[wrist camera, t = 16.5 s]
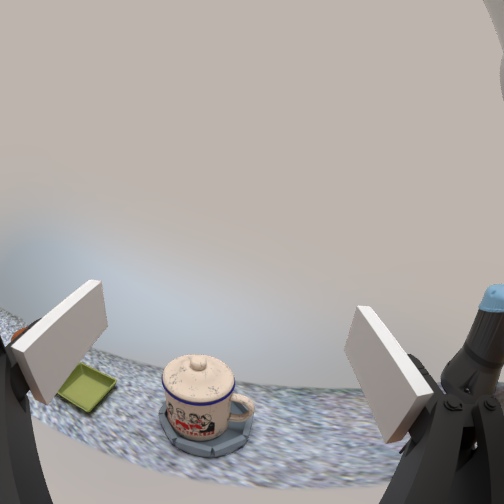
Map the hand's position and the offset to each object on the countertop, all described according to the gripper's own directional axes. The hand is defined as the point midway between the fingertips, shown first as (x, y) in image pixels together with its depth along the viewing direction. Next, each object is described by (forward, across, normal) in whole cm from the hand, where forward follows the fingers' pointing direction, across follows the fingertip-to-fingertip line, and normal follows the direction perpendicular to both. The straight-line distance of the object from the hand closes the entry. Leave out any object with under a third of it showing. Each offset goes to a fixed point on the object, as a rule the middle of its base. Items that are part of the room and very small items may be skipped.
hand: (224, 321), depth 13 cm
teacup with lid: (+13, -2, -26) cm, 29 cm away
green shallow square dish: (+14, -23, -27) cm, 38 cm away
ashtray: (+13, -3, -26) cm, 30 cm away
